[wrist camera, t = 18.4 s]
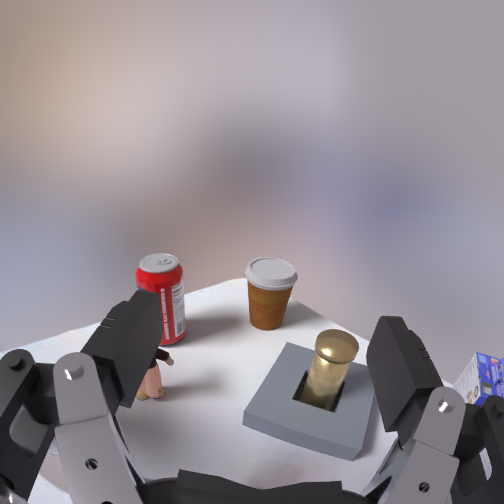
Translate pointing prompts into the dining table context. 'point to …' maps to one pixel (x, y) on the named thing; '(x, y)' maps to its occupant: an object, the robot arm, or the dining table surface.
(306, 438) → the jig plate
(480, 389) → the ink cartridge box
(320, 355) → the brass sleeve
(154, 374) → the grandmother figurine
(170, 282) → the soda can
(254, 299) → the disposable coffee cup
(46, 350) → the dining table surface
